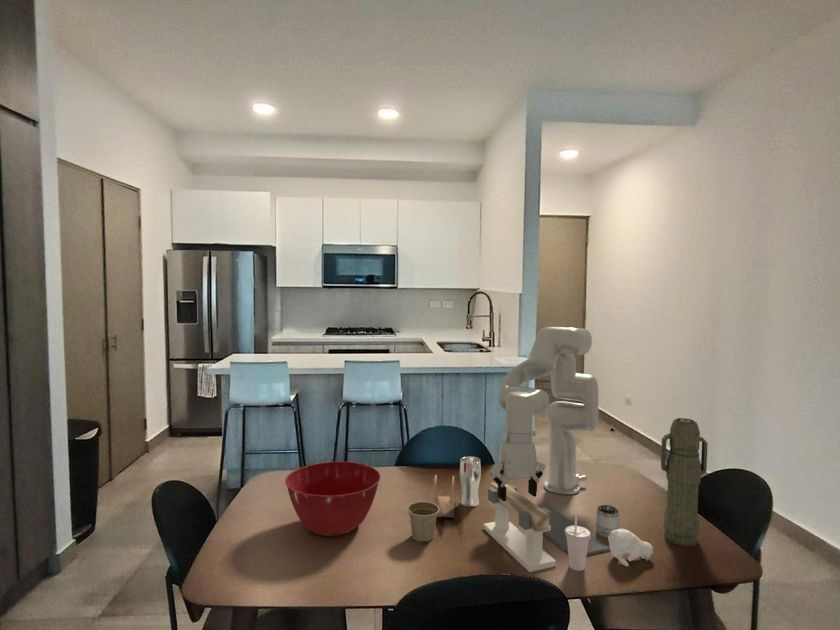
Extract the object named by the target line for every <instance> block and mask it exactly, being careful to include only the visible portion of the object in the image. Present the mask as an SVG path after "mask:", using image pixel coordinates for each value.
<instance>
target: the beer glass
mask: <svg viewBox="0 0 840 630" xmlns="http://www.w3.org/2000/svg"><path fill="white" fill-rule="evenodd" d="M481 468H482V467H481V458H479V457H476V456H471V455H470V456H464V457H463V456H462V457H461V458H460V464H459V479H460V480H459V481H460V485H461V493H462V494H461V499H460V504H461V505H462V506H463V507H468V508H473V507H475V508H476V507H478V506H479V504H480V500H479V487H480V483H481V476H482V473H481V472H482V471H481V470H482V469H481Z"/></svg>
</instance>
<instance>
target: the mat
mask: <svg viewBox="0 0 840 630" xmlns="http://www.w3.org/2000/svg"><path fill="white" fill-rule="evenodd" d="M537 506H538V507H539V508H544V507H545V508H546V509H547V510H549V511H550V512H551V530H550V531H545V532H543V535H544V536H545V537H546V538H548V539H549V540H550V541H552V543H554V544H555V545H556V546H558V547H559V548H560V549H562V551H564V552H565V553H566V554H568V546H567V537H566V535H565V529H566V528H567V527H569V526H575V521H573V520H571V519H569V518H568V517H567V516H565V515H563V514H562V513H561V512H559V511H558V510H557V509H555V508H553V506H551V505H549V504H548V503H545V504H540V505H539V504H538V505H537ZM577 526H579V524H577ZM590 535H591V537H590V539H589V542H588V548H587V555H586V557H587V556H591V555H595V554H599V553H603V552H609V551H610V547H609V545H607V544H606V543H604V542H603V541H602V540H600V539H599V538H597V537H596V536H594V535H592V533H590Z"/></svg>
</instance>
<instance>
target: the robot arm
mask: <svg viewBox="0 0 840 630" xmlns="http://www.w3.org/2000/svg"><path fill="white" fill-rule="evenodd" d="M592 344H593V339H592V334H591V331H590V330H588V329H586V328H577V327H567V326H566V327H565V326H564V327H562V326H546V327H543V328H541V329H540V330H539V331H538V332H537V335H536V337H535V340H534V342H533V345H532V348H531V350H530V352H529V355H528V358H527V359H526V360H524V361H522V362H520V363H519V364H517V365H516V366H515V367H513V368H512V369H511V370H509V372H508V373H507V374H506V376H505V377H504V380H503V382H502V386H501V387H500V390H499V394H498V404H499V406H500V407H501V408H502V410H505V414H504V415H505V420H504V421H505V422H504V440H502V441H501V444H500V448H499V455H498V464H497V465H495V466H494V467H493V468H491V469H490V470H489V473H490V476H491V478H492V480H493V481H494V482H496V483H497V484H498V497H499V498H500V499H501V500H502V501H506V487H505V485H506V484H507V483H508V481H510V480H518V479H519V480H520V479H526V478H529V479H528V486H527V488H528V489H527V490H528V491H527V493H528V494H529V495H531V496H532V497H537V491H538V483H539V482H540V479H541V477H543V475H544V471H545V469H546V465H545V464H544V463H542V462H540V461H538V459H537V452H536V451H537V449H536V446H535V444H536V443H535V441H534V440H533V439H534V437H535V436H536V435H537V432H536V431H535V430H534V429H533V428H534V427H533V426H534V416H540V415H542V414H544V413H546V415H547V423H548V434H549V438H548V442H549V443H548V444H549V445H548V479H547V480H545V481H544V482H543V486H544V488H545V490H547V491H549V492H551V493H553V494H557V495H558V494H559V495H565V496H566V495H569V496H570V495H574V494H575V495H576V494H578V493H579V492H580V491H581V485H580V483H581V482H586V481H587V480H588V477H587V476H586V475H579V474H577V452H578V451H577V446H578V445H577V444H578V443H577V442H578V441H577V438H576V436H575V434H574V433H573V431H578V432H585V433H586V432H587V433H592V432H593V433H594V432H595V431H596V430H597V429H598V426H599V384H598V380H597V378H596V377H595V376H593V374H588V373H587V374H586V373H578V372H577V370H576V369H577V368H576V365H577V363H576V361H577V360H576V357H575V355H576V356H578V355H579V356H581V355H582V356H583V355H586V354H588V353H589V352H590V350H591V348H592ZM547 376H550V389H551V394H552V395H553V397H555V398H556V399H561V400H556V401H553V402H550V397H549V394H548V392H546V391H545V390H543V389H541V388H534V387H527V386H521V385H523V384H525V383H527V382H531V381H533V380H537V379H540V378H544V377H547ZM562 399H563V401H562ZM564 400H568V401H564ZM569 400H570V401H569ZM572 401H577V402H572ZM578 402H580V403H578ZM498 474H499V476H498Z"/></svg>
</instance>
